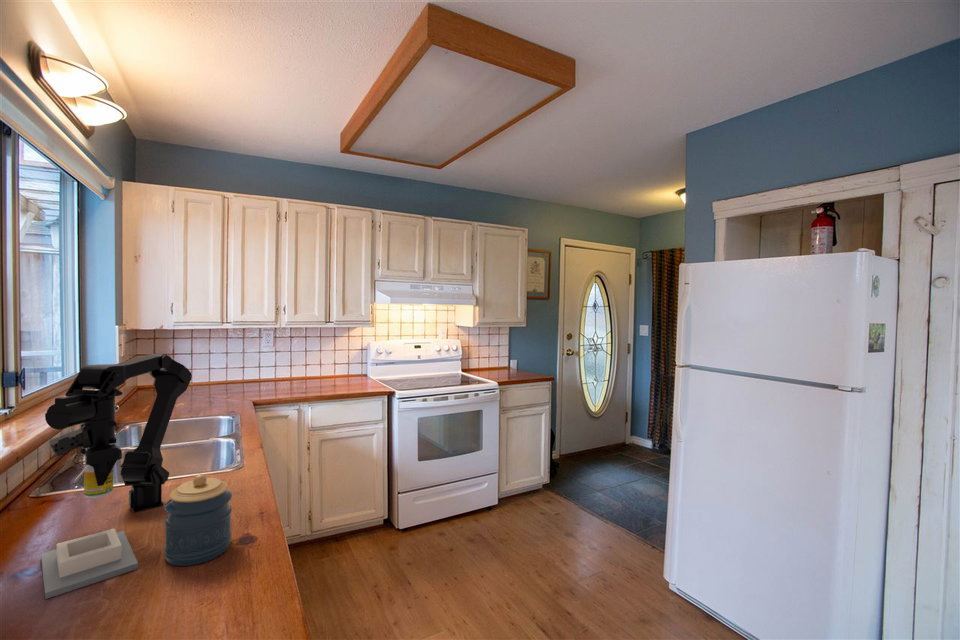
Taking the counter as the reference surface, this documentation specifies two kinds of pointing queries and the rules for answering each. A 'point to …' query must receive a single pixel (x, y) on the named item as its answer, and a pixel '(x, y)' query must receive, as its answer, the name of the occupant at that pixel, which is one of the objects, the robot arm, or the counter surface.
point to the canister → (197, 521)
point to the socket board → (86, 561)
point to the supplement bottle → (91, 485)
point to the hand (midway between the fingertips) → (99, 481)
